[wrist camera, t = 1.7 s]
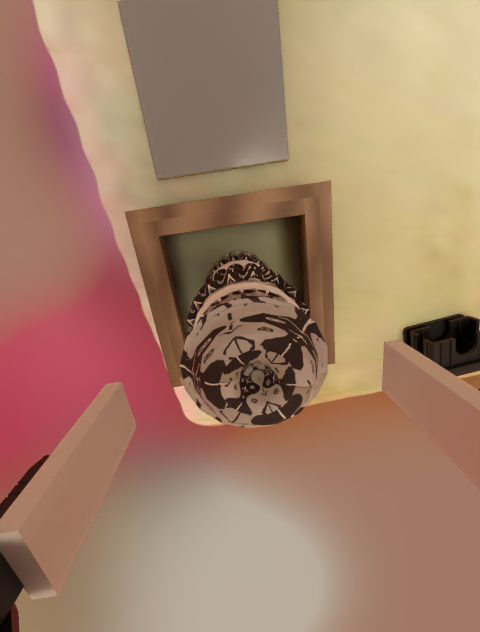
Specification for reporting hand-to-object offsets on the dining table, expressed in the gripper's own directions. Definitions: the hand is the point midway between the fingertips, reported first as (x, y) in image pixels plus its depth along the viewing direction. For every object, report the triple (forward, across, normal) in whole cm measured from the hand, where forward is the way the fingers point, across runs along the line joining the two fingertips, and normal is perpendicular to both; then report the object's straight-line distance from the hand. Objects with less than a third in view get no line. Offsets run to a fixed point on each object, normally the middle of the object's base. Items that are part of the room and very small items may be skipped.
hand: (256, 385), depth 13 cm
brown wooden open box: (+25, 0, 0) cm, 25 cm away
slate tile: (+25, 0, +22) cm, 33 cm away
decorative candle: (+25, 0, 0) cm, 25 cm away
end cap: (+25, +29, -14) cm, 41 cm away
